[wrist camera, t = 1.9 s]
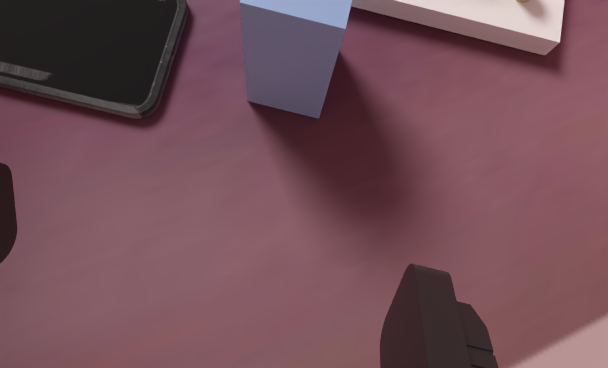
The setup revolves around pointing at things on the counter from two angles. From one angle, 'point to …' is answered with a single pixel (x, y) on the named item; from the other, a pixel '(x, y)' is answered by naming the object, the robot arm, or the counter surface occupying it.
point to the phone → (91, 51)
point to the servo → (291, 51)
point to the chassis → (483, 19)
